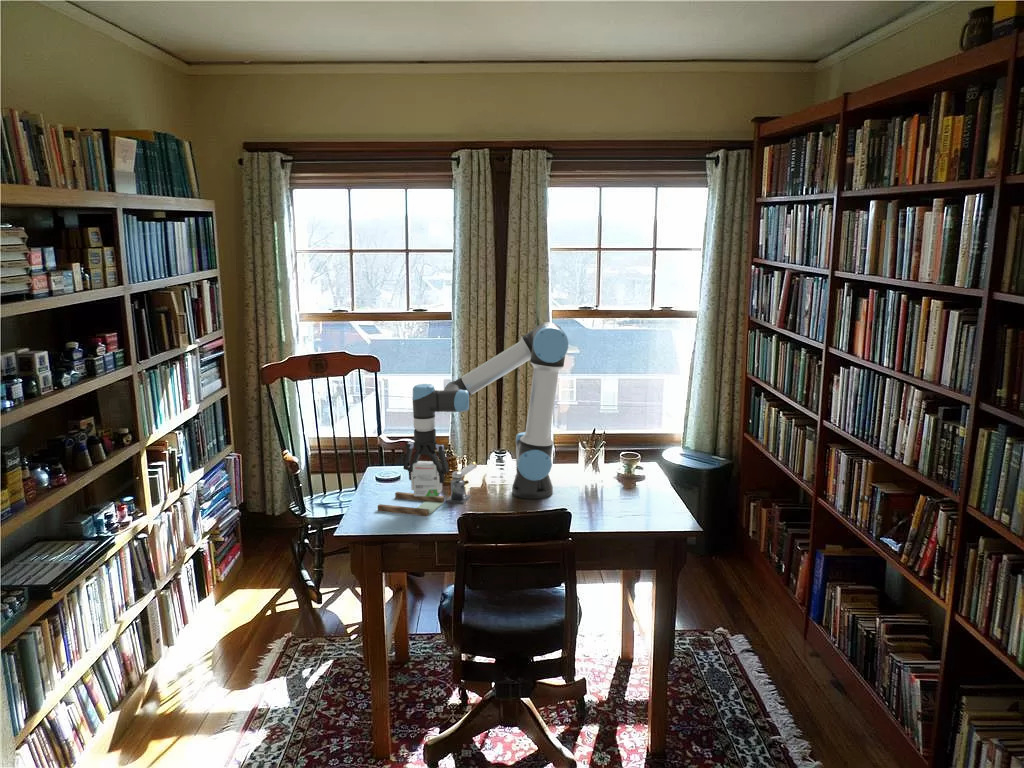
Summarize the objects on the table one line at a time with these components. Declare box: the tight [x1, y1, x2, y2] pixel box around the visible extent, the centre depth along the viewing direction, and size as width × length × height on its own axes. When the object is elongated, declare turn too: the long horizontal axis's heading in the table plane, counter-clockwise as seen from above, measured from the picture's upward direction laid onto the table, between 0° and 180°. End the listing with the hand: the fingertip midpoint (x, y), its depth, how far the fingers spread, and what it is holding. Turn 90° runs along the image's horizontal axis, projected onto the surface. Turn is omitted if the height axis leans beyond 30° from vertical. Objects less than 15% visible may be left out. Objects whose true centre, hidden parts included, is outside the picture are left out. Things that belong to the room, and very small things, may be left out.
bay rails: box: [377, 491, 445, 517], centre depth 275 cm, size 19×15×2 cm
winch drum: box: [445, 478, 472, 504], centre depth 280 cm, size 7×7×8 cm
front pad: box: [416, 501, 444, 515], centre depth 273 cm, size 7×11×1 cm, turn 161°
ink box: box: [413, 460, 440, 496], centre depth 271 cm, size 9×5×12 cm, turn 85°
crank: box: [451, 461, 478, 480], centre depth 285 cm, size 16×4×2 cm, turn 157°
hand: (426, 490), depth 272 cm, fingers closed on ink box, 9 cm apart
